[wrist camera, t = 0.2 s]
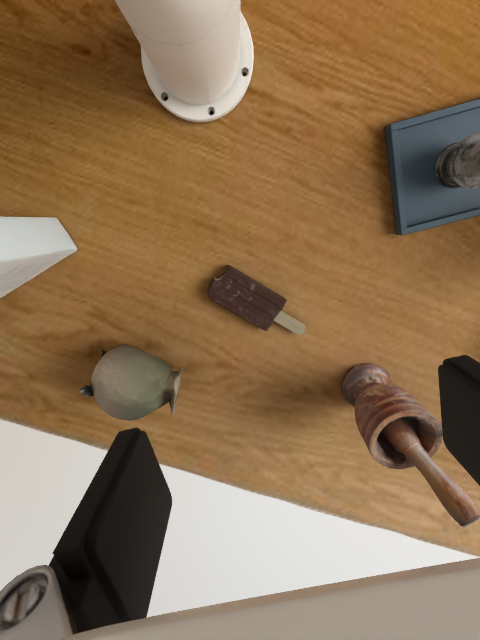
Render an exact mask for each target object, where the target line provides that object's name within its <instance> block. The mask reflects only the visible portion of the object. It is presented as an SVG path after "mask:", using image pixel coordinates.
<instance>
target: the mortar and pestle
mask: <svg viewBox="0 0 480 640" xmlns="http://www.w3.org/2000/svg"><path fill="white" fill-rule="evenodd" d="M342 393H343V395H344V397H345V398H346V399H347V401H348V402H349V403H351V404H352V405H354V406H355V418H356V423H357V426H358V429H359V432H360V434H361V436H362V437H363V439H364V441H365V443H366V445H367V447H368V450H369V452H370V453H371V455H372V456H373V458H374V459H375V461H377V462H378V463H380V464H381V465H383V466H386V467H388V468H394V469H405V468H409V467H415V466H416V467H417V469H418V470H419V471H420V472H421V473H422V475H423V476H424V477H425V479H426V480H427V482H428V483H429V485H430V486H431V488H432V489H433V491H434V492H435V494H436V496H437V497H438V499H439V500H440V502H441V503H442V505H443V506H444V507H445V509H446V510H447V511H448V513H449V514H450V515H451V516H452V517H453V518H454V520H455V521H457V522H458V523H459V524H460V525H461V526H463V527H465V526H467V525H469V524H471V523H473V522H475V521H476V520H478V519H479V517H480V510H479V508H478V507H477V505H476V504H475V503H474V501H473V500H472V499H471V498H470V497H469V496H468V495H467V494H466V493H465V492H464V491H463V489H462V488H461V487H460V486H459V485H458V484H457V483H456V482H454V481H453V480H452V479H451V478H450V477H449V476H448V475H447V474H446V473H445V472H444V471H443V470H442V469H441V468H440V467H439V466H438V465H437V464H436V463H435V462H434V460H433V459H432V458H431V457H432V456H433V455H434V454H435V453H436V451H437V450H438V449H439V447H440V444H441V438H442V436H443V433H442V429H441V426H440V423H439V422H438V421H437V419H436V418H435V417H434V416H432V415H431V414H430V413H429V412H428V411H427V410H426V409H425V408H424V407H423V406H422V405H421V404H420V403H419V402H418V400H417V399H415V398H414V397H413V396H412V395H411V394H409V393H408V392H406V391H405V390H403V389H401V388H399V387H397V386H395V385H392V384H391V380H390V377H389V375H388V373H387V372H386V371H385V370H384V369H383V368H381V367H379V366H376V365H372V364H363V365H356V366H355V367H354V368H353V369H352V370H350V372H349V373H348V374H347V375H346V377H345V379H344V381H343V383H342Z"/></svg>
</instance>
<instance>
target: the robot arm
mask: <svg viewBox="0 0 480 640" xmlns="http://www.w3.org/2000/svg"><path fill="white" fill-rule="evenodd" d="M115 2H116V4H117V5H118V7H119V9H120V10H121V12H122V14H123V16H124V17H125V19H126V21H127V22H128V24H129V26H130V27H131V29H132V31H133V33H134V34H135V36H136V38H137V39H138V41H139V43H140V44H141V61H142V66H143V70H144V74H145V77H146V79H147V82H148V85H149V86H150V88H151V90H152V92H153V93H154V95H155V96H156V98H157V99H158V100H159V102H160V103H161V104H162V105H163V106H164V107H165V108H166V109H167V110H168V111H170V112H171V113H173V114H174V115H176V116H177V117H179V118H182V119H184V120H187V121H192V122H209V121H213V120H217V119H219V118H221V117H223V116H225V115H226V114H228V113H229V112H230V111H232V110H233V109H234V108H235V107H236V106H237V104H238V103H239V102H240V101H241V99H242V98H243V96H244V94H245V93H246V91H247V88H248V86H249V83H250V80H251V75H252V70H253V61H254V54H253V43H252V38H251V33H250V30H249V28H248V25H247V23H246V20H245V19H244V17H243V15H242V13H241V12H240V0H115ZM243 73H246V74H247V76H243V75H242V74H243ZM165 97H168V100H167V101H165V100H164V98H165ZM210 111H213V112H214V114H213V115H210ZM438 375H439V389H440V403H441V418H442V432H443V440H444V443H445V445H446V447H447V449H448V450H449V451H450V453H451V454H452V455H453V456H454V457H455V458H456V459H457V460H458V462H459V463H460V464H461V465H462V466H463V467H464V468H465V470H466V471H467V472H468V473H469V474H470V475H471V476H472V478H473V479H474V480H475V481H476V482H477V483H478V484H479V485H480V363H479V362H477V361H475V360H474V359H472V358H471V357H469V356H467V355H462V356H458V357H453V358H449V359H445V360H444V361H443V365H440V366H439V368H438ZM171 506H172V497H171V493H170V490H169V488H168V485H167V483H166V480H165V478H164V476H163V473H162V471H161V468H160V466H159V463H158V461H157V458H156V456H155V453H154V451H153V449H152V446H151V444H150V441H149V439H148V436H147V434H146V432H145V431H140V429H139V428H133V429H128V430H124V431H120V432H119V433H118V434H117V436H116V438H115V440H114V441H113V443H112V445H111V447H110V449H109V451H108V453H107V454H106V456H105V458H104V460H103V462H102V463H101V465H100V467H99V469H98V471H97V473H96V474H95V477H94V478H93V480H92V482H91V484H90V485H89V487H88V489H87V491H86V493H85V495H84V497H83V499H82V500H81V502H80V504H79V506H78V508H77V509H76V511H75V513H74V515H73V517H72V519H71V520H70V522H69V524H68V526H67V528H66V530H65V531H64V533H63V535H62V537H61V539H60V541H59V542H58V545H57V546H56V548H55V550H54V552H53V554H54V557H53V559H52V560H51V562H50V564H49V566H47V565H42V566H36V567H33V568H31V569H28V570H26V571H25V572H23V573H22V574H20V575H18V576H17V577H15V578H14V579H13V580H12V581H11V582H10V583H8V584H7V585H6V586H5V587H4V588H3V589H2V590H1V591H0V640H480V558H477V559H471V560H465V561H459V562H453V563H447V564H442V565H436V566H430V567H424V568H419V569H412V570H407V571H400V572H395V573H389V574H384V575H378V576H372V577H366V578H361V579H355V580H349V581H344V582H338V583H332V584H327V585H321V586H315V587H310V588H304V589H298V590H293V591H287V592H282V593H276V594H270V595H266V596H260V597H255V598H249V599H244V600H238V601H232V602H227V603H221V604H216V605H211V606H205V607H200V608H194V609H189V610H183V611H178V612H173V613H167V614H162V615H158V616H152V617H148V618H146V616H147V612H148V608H149V603H150V599H151V595H152V590H153V586H154V581H155V577H156V572H157V568H158V563H159V559H160V555H161V551H162V546H163V542H164V537H165V533H166V529H167V524H168V520H169V516H170V511H171Z"/></svg>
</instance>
